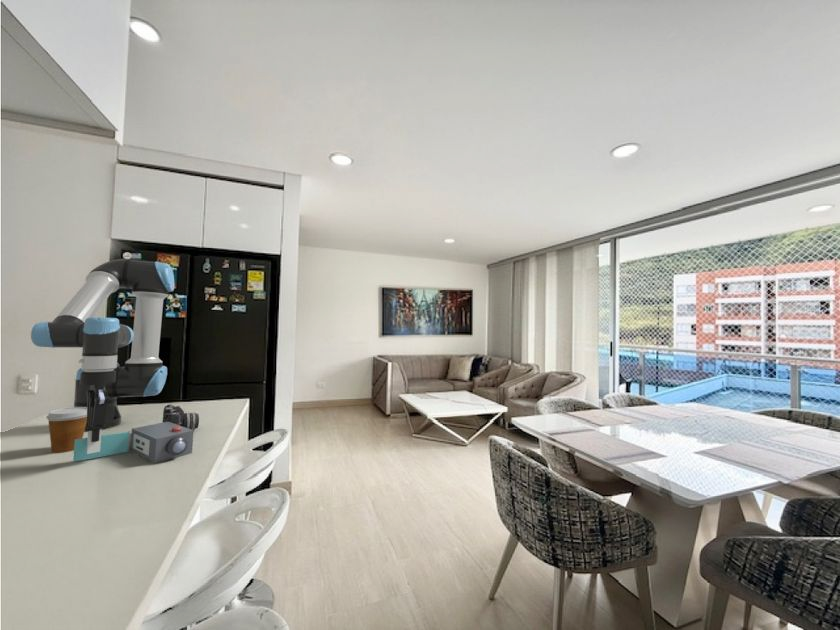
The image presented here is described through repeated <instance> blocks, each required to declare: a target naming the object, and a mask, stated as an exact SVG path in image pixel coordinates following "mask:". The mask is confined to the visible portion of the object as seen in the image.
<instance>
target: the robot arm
mask: <svg viewBox="0 0 840 630" xmlns="http://www.w3.org/2000/svg"><path fill="white" fill-rule="evenodd" d="M119 289H128V290H129V289H130V290H131V294H132V295H133V296H134V297H135V299H136V300H135V308H134V319H133V329H132V328H131V327H129V325H125V324H122V323H120V319H118V318H117V317H97V316H96V314H97V313H98V312H99V310H100V309H101V307H102V306H103V305H104V304H105V302H106V301H107V299H108V298H109V296H110V295H111V294H113V293H116V292H117V291H118V290H119ZM174 290H175V274H174V272H173V268H172V267H171V265H170V264H168V263H165V262H159V261H151V260H150V261H149V260H138V259H137V260H136V259H128V258H118V259H114V260H113V259H112V260H108V261H107V262H104V263H102V264H100V265H98V266H96V267H94V268H93V269H92V270H90V271H89V273H88V274H87V275H86V277H85V283H84V284H83V285H82V287H81V288H80V289H79V290H78V291H77V292H76V293H75V295H74V296H73V297H72V298H71V299H70V301H69V302H68V303H66V305H65V307H63V309H62V310H60V312H59V313H58V315H57V316H56V317H55V318H54V319H53V320H52V321H40V322H36V323H35V324H34V325H33V327H32V329H31V330H30V338H31V339H30V340H31V342H32V344H33V345H34V346H36V347H39V348H52V349H55V348H82V350H81V351H82V352H81V353H82V354H81V356H82V357H81V359H79V360H78V363H79V364H81V366H80V368H78V370H77V371H76V375H75V376H76V377H75V379H74V381H75V383H74V384H75V386H74V387H75V388H74V398H73V399H74V401H73V402H74V403H73V407H87V422H86V426H85V430H84V432H87V437H86V438H87V452H86V453H87V454H90V453H95V452H100V446H101V436H102V432H103V431H102V430H105V429H108V428H109V429H110V428H113V427H116V426H118V425H120V424H121V423H122V415H121V412H120V409H119V406H118V404H117V399H118V398H127V397H128V398H129V397H131V398H132V397H133V398H135V397H143V398H144V397H151V396H152V397H153V396H157V395H159V394H160V393H161V392H162V390H163V388H164V386H165V384H166V381H167V376H168V367H167V366H165V365H163V360H161V359H160V357H159V355H160V354H159V353H160V342H161V332H162V331H161V329H162V320H163V319H162V318H163V308H164V300H165V299H166V298H168V297H169V294H170V293H171V292H174ZM169 292H170V293H169ZM95 316H96V317H95ZM129 344H131V350H130V351H131V352H130V358H128V359H127V360H126V361H125V363H124V366H120V363H119V362H118V351H119V349H121V348H124V347H126V346H128V345H129ZM118 348H119V349H118Z"/></svg>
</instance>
